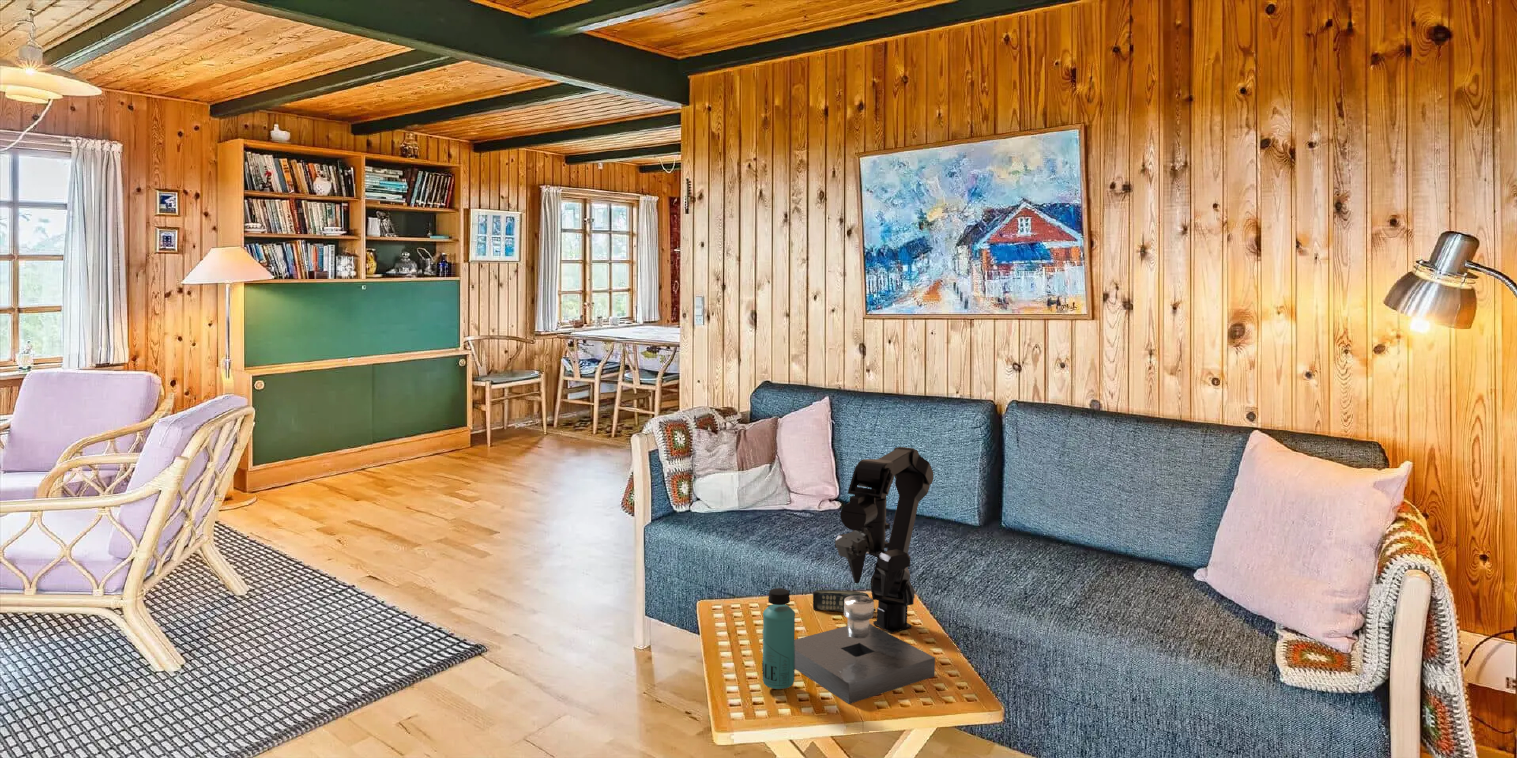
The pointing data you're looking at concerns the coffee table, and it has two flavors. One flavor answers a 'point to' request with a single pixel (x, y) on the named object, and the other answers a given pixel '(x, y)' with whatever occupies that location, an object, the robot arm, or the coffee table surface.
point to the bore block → (861, 663)
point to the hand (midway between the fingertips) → (870, 589)
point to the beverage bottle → (778, 641)
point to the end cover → (858, 615)
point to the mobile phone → (832, 599)
